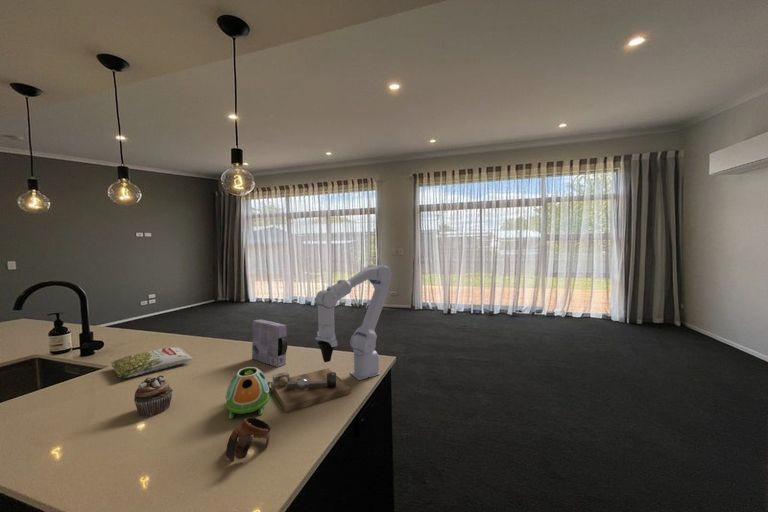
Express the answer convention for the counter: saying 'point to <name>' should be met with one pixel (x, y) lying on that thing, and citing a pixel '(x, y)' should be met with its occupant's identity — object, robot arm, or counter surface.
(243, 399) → the turtle holder
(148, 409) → the cupcake
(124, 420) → the counter surface
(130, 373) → the frozen beans
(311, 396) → the board
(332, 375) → the lever
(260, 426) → the brown curved open piece
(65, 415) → the counter surface
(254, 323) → the cake pan box
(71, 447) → the counter surface
